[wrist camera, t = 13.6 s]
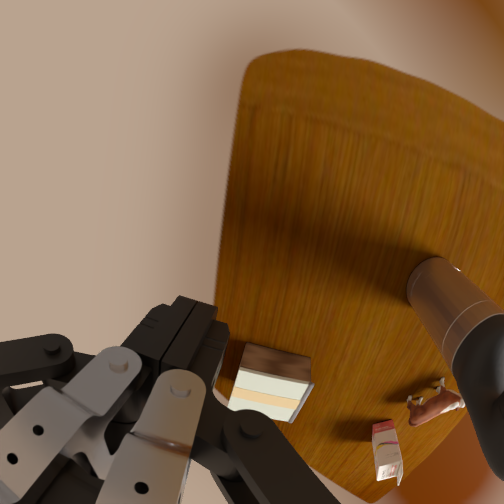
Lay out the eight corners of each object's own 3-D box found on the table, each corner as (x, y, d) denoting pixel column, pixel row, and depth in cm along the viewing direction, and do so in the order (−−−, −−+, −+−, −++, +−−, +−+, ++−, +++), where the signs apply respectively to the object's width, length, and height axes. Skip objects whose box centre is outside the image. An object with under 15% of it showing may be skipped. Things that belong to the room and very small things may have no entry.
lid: (313, 382, 39) (314, 386, 39) (292, 419, 43) (292, 423, 42) (239, 366, 40) (238, 371, 39) (227, 405, 43) (226, 409, 42)
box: (310, 357, 45) (311, 382, 39) (291, 395, 49) (290, 418, 43) (246, 341, 46) (240, 365, 40) (234, 381, 49) (228, 404, 44)
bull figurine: (459, 379, 43) (472, 405, 36) (403, 407, 47) (412, 436, 39) (458, 367, 42) (473, 394, 35) (400, 396, 46) (409, 426, 38)
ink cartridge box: (371, 423, 49) (380, 478, 36) (392, 418, 48) (405, 471, 35) (370, 442, 52) (377, 492, 38) (390, 437, 51) (400, 486, 37)
